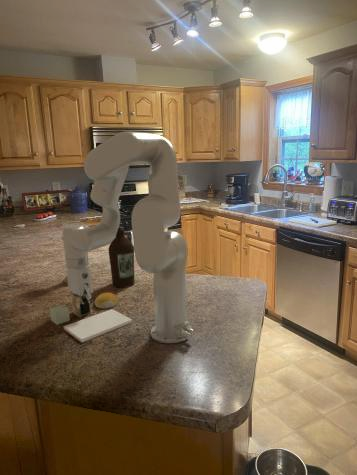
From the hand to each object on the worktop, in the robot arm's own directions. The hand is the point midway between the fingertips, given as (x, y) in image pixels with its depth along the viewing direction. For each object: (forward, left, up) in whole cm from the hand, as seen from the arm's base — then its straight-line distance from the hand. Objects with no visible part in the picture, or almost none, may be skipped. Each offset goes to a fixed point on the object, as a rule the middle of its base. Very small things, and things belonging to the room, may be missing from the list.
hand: (81, 310), depth 123 cm
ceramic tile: (-13, +1, -1) cm, 13 cm away
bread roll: (+1, -10, -1) cm, 10 cm away
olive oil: (+14, -27, -1) cm, 30 cm away
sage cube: (0, +8, -1) cm, 8 cm away
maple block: (0, 0, -1) cm, 1 cm away
